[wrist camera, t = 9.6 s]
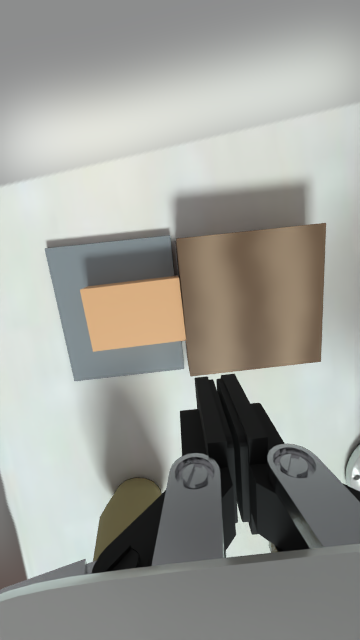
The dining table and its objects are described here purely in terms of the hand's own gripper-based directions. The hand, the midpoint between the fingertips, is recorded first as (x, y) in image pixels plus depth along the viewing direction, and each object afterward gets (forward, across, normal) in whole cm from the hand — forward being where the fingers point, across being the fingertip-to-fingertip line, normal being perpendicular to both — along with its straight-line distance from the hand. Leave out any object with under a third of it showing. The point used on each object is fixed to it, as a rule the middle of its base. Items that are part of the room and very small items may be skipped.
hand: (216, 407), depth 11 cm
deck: (+17, -6, -1) cm, 18 cm away
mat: (+17, +7, -1) cm, 19 cm away
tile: (+17, +5, -1) cm, 17 cm away
